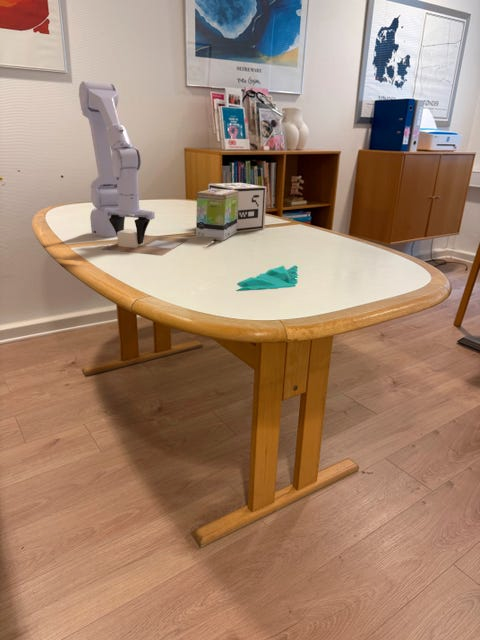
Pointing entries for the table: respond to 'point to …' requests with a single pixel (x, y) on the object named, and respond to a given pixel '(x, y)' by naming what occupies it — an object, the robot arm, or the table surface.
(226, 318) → the table surface
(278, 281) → the cloth
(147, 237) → the board
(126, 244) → the cream cube
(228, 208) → the tea box
